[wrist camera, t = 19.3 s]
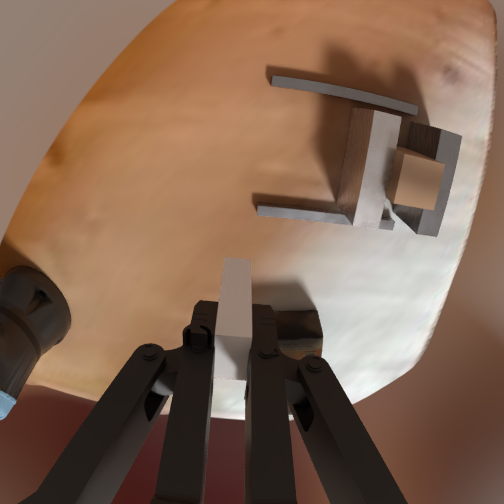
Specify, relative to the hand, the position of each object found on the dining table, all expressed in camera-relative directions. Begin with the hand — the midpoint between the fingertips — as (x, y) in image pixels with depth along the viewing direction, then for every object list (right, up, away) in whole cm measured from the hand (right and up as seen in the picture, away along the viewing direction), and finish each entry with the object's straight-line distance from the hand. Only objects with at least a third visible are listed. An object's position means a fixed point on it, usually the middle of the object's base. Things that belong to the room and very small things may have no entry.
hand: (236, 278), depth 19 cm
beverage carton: (+7, -15, +31) cm, 35 cm away
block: (+17, +12, +17) cm, 27 cm away
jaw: (+13, +13, +17) cm, 25 cm away
